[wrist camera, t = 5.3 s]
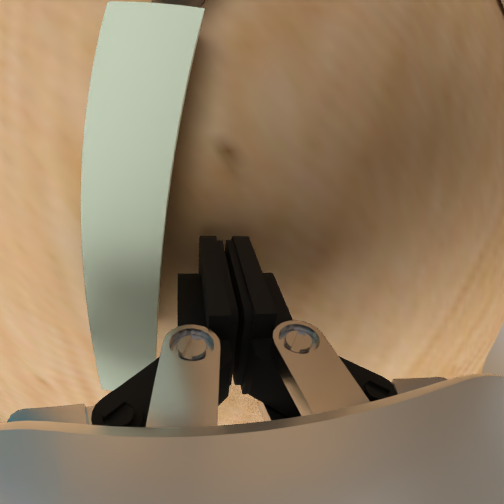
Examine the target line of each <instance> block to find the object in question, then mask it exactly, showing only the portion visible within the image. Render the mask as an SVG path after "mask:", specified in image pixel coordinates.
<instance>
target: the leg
mask: <svg viewBox="0 0 504 504" xmlns="http://www.w3.org/2000/svg"><path fill="white" fill-rule="evenodd" d="M204 10H205V8H198V7H191V6H183V5H174V4H163V3H149V2H117V1H112V2H108V3H107V7H106V10H105V14H104V18H103V22H102V26H101V30H100V34H99V39H98V43H97V48H96V53H95V58H94V63H93V69H92V74H91V80H90V87H89V94H88V101H87V109H86V118H85V128H84V139H83V153H82V172H81V236H82V256H83V270H84V282H85V292H86V301H87V309H88V317H89V324H90V331H91V337H92V343H93V349H94V354H95V360H96V365H97V370H98V375H99V379H100V384H101V388H102V389H103V390H111V391H113V390H115V389H116V388H118V387H119V386H120V385H122V384H123V383H125V382H126V381H127V380H129V379H130V378H131V377H133V376H134V375H136V374H137V373H138V372H140V371H141V370H142V369H144V368H145V367H146V366H148V365H149V364H151V363H152V362H153V361H155V360H156V350H157V329H158V308H159V292H160V278H161V266H162V254H163V244H164V234H165V225H166V216H167V208H168V200H169V192H170V185H171V178H172V171H173V164H174V157H175V151H176V145H177V139H178V133H179V128H180V122H181V117H182V111H183V106H184V101H185V96H186V91H187V86H188V82H189V77H190V72H191V68H192V63H193V59H194V55H195V51H196V46H197V42H198V38H199V34H200V30H201V25H202V20H203V15H204Z"/></svg>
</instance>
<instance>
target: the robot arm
mask: <svg viewBox="0 0 504 504" xmlns="http://www.w3.org/2000/svg"><path fill="white" fill-rule="evenodd" d="M501 2H502V5H503V7H504V0H501ZM232 373H233V379H234V383H235V385H241V389H242V394H249V395H251V396H252V397H254V398H256V399H258V402H257V403H258V407H259V410H260V412H261V414H262V417H263V419H264V422H255V423H246V424H234V425H222V426H217V422H218V406H219V405H220V404H221V403H222V402H223V401H224V400H225V399H226V398H227V397H228V393H229V385H231V381H232ZM0 504H504V377H503V376H499V375H495V374H472V375H466V376H460V377H455V378H452V379H446V378H442V377H431V378H409V379H393V380H392V382H390V381H389V380H387V379H385V378H384V377H382V376H380V375H378V374H376V373H373V372H371V371H369V370H367V369H365V368H363V367H360V366H358V365H356V364H354V363H352V362H350V361H348V360H346V359H344V358H341V357H339V356H338V355H337V353H336V352H335V351H334V349H333V348H332V346H331V345H330V343H329V342H328V341H327V339H326V338H325V336H324V335H323V333H322V332H321V331H320V330H319V329H318V328H317V327H315V326H313V325H312V324H309V323H307V322H304V321H298V320H292V317H291V315H290V313H289V310H288V308H287V305H286V303H285V301H284V298H283V296H282V294H281V291H280V289H279V286H278V284H277V282H276V279H275V277H274V275H273V274H272V273H262V271H261V268H260V265H259V263H258V260H257V257H256V255H255V252H254V249H253V247H252V244H251V242H250V239H249V237H248V236H232V239H231V240H226V243H225V251H224V246H223V242H222V240H217V238H216V236H200V240H199V271H198V274H178V327H176V328H174V329H172V330H171V331H170V332H169V333H168V334H167V335H166V337H165V339H164V341H163V345H162V349H161V354H160V357H159V358H157V359H156V360H155V361H153V362H152V363H151V364H149V365H148V366H146V367H145V368H144V369H142V370H141V371H140V372H138V373H137V374H136V375H134V376H133V377H131V378H130V379H129V380H127V381H126V382H125V383H123V384H122V385H120V386H119V387H118V388H116V389H115V390H113V391H112V392H111V393H109V394H108V395H106V396H105V397H104V398H102V399H101V400H100V401H99V402H98V403H97V404H96V405H95V406H91V407H86V406H85V405H84V404H77V405H67V406H57V407H45V408H30V409H22V410H18V411H16V412H15V413H13V414H12V415H11V416H10V418H9V419H8V421H7V423H1V424H0Z"/></svg>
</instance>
